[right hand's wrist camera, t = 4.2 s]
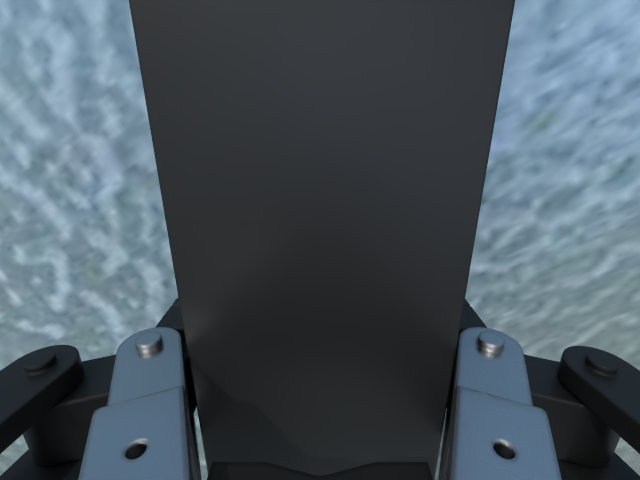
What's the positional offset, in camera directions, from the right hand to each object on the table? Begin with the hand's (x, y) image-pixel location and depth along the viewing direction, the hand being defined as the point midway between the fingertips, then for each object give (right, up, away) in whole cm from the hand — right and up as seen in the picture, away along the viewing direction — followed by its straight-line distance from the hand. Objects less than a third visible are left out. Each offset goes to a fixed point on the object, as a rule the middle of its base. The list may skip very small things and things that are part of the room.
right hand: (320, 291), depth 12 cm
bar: (0, +9, +1) cm, 9 cm away
